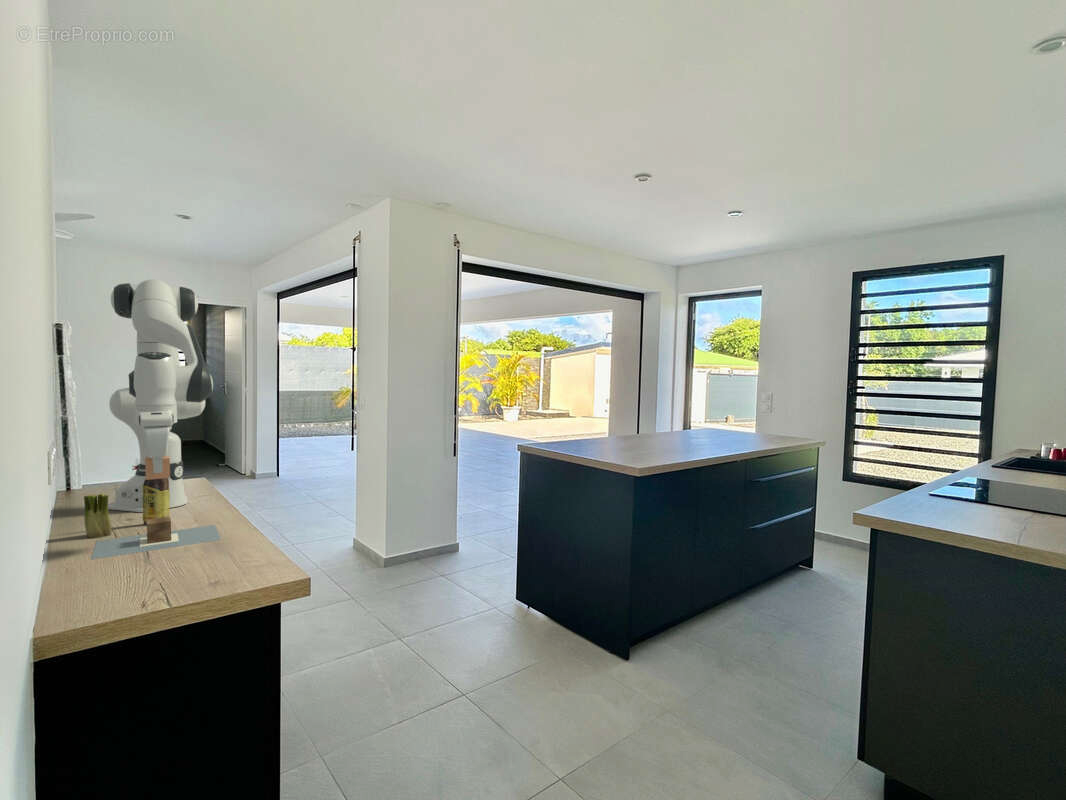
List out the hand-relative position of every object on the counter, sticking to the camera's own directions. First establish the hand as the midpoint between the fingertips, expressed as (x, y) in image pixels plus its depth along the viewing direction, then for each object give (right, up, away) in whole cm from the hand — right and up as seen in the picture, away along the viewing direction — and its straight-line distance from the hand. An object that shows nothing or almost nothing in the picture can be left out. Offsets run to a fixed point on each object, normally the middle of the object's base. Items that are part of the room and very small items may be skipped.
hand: (157, 470), depth 137 cm
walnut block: (0, -18, +1) cm, 18 cm away
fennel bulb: (-19, -19, +5) cm, 27 cm away
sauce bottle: (-12, -18, +18) cm, 28 cm away
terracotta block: (0, -2, 0) cm, 2 cm away
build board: (0, -19, +1) cm, 19 cm away
